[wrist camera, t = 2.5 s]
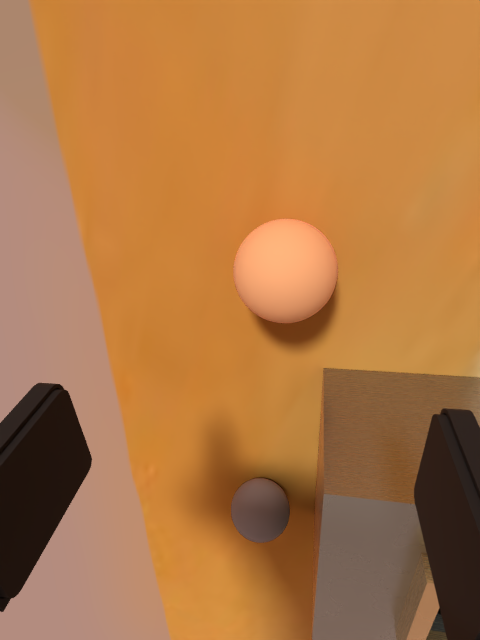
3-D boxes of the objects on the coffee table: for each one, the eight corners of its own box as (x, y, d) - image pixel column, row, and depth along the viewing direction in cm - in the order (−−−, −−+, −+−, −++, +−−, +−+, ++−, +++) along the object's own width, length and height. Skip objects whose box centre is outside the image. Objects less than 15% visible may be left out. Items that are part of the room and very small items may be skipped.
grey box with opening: (653, 388, 20) (858, 590, 12) (554, 545, 27) (643, 732, 20) (323, 368, 23) (323, 522, 15) (314, 515, 30) (311, 668, 22)
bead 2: (302, 499, 26) (249, 532, 24) (301, 534, 28) (252, 566, 26) (267, 456, 29) (218, 483, 27) (268, 491, 31) (223, 518, 29)
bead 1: (339, 204, 18) (344, 242, 14) (333, 294, 20) (335, 346, 17) (240, 205, 19) (219, 241, 15) (245, 291, 21) (228, 340, 17)
